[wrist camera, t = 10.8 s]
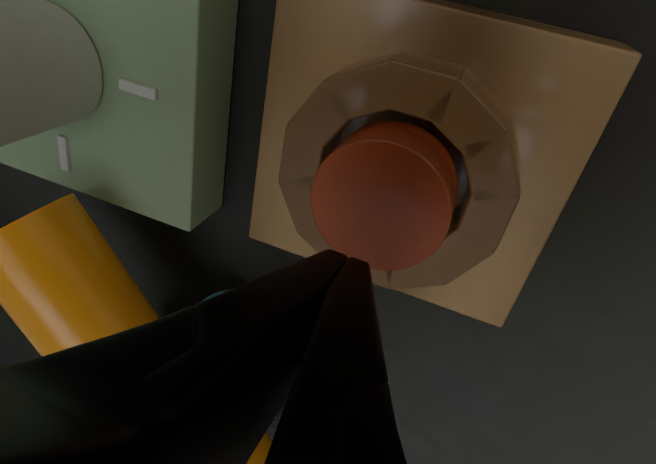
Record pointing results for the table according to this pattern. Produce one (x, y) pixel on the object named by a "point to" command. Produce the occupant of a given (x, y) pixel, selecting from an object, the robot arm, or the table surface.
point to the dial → (44, 69)
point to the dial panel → (147, 110)
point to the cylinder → (71, 284)
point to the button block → (438, 128)
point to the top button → (386, 195)
